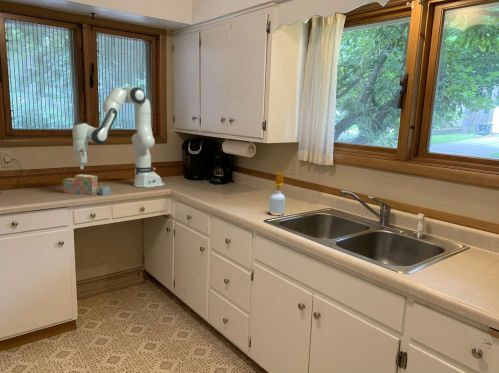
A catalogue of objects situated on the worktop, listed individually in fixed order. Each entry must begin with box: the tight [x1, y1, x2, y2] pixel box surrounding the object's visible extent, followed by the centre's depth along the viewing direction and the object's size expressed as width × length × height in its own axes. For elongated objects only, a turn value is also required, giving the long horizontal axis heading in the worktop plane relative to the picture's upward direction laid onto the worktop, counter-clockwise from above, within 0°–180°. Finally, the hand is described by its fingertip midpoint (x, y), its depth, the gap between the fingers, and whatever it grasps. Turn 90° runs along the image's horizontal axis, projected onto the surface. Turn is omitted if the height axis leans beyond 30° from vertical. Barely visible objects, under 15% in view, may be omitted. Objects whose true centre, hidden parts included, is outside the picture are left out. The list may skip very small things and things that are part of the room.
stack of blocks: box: [62, 173, 99, 196], centre depth 256 cm, size 21×6×12 cm, turn 78°
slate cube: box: [98, 185, 111, 196], centre depth 256 cm, size 5×5×5 cm
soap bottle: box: [268, 172, 286, 213], centre depth 224 cm, size 9×9×25 cm
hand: (81, 168), depth 254 cm, fingers closed
